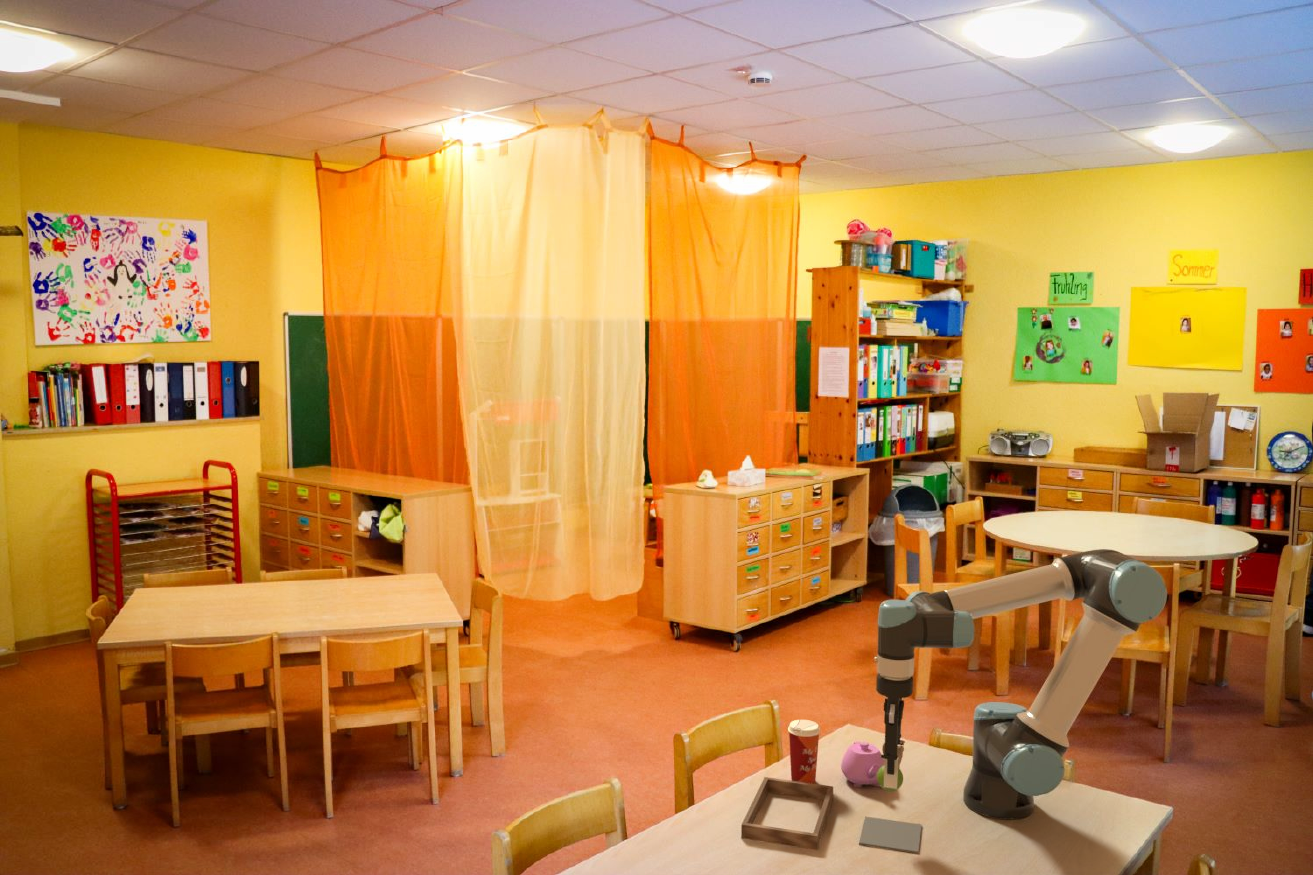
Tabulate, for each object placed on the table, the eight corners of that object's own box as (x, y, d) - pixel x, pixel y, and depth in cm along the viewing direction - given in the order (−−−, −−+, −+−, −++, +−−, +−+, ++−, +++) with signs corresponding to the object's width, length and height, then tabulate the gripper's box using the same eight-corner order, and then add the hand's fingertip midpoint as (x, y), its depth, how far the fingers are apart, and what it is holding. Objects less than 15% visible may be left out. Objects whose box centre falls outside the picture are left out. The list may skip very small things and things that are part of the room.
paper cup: (809, 791, 232) (810, 733, 231) (781, 782, 237) (781, 725, 236) (825, 779, 239) (826, 723, 237) (797, 771, 243) (798, 715, 242)
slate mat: (921, 826, 216) (921, 824, 216) (918, 853, 205) (918, 851, 205) (865, 817, 220) (865, 816, 220) (859, 844, 208) (859, 842, 208)
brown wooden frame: (833, 798, 229) (833, 786, 228) (817, 849, 206) (817, 836, 206) (764, 789, 234) (764, 776, 233) (741, 837, 211) (741, 824, 211)
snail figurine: (891, 799, 207) (893, 743, 206) (871, 787, 212) (872, 732, 211) (911, 794, 209) (913, 739, 208) (891, 782, 215) (892, 728, 214)
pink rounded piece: (874, 767, 245) (875, 731, 245) (897, 795, 231) (898, 756, 230) (833, 770, 244) (834, 733, 243) (854, 798, 229) (855, 759, 228)
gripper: (880, 659, 218) (877, 761, 221) (872, 687, 201) (869, 797, 203) (916, 662, 216) (912, 765, 219) (910, 691, 199) (906, 802, 201)
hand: (891, 780), depth 211 cm, fingers closed on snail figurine, 5 cm apart
